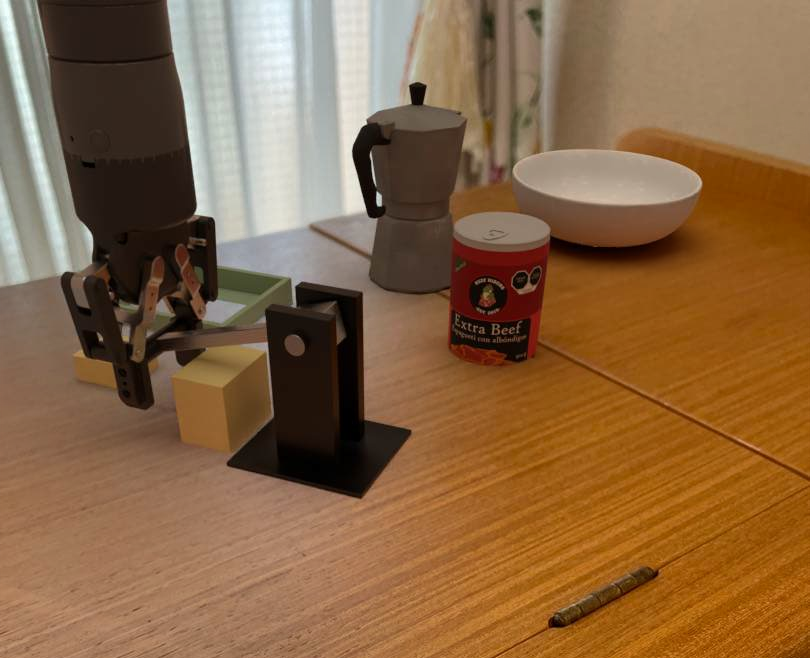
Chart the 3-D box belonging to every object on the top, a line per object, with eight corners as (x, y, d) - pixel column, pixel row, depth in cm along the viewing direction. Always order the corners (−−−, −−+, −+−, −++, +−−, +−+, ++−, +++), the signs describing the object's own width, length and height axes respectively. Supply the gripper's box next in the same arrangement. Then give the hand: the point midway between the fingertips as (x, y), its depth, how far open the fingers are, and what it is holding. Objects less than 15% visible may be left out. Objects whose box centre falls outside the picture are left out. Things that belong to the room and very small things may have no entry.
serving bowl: (472, 239, 99) (476, 175, 95) (562, 197, 112) (569, 139, 108) (641, 283, 89) (654, 214, 85) (717, 231, 102) (732, 170, 98)
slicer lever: (131, 377, 60) (117, 344, 59) (180, 343, 64) (168, 312, 63) (319, 362, 53) (308, 325, 52) (359, 325, 58) (349, 290, 56)
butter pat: (80, 389, 69) (71, 354, 67) (114, 366, 72) (108, 332, 71) (127, 400, 68) (120, 365, 66) (160, 376, 71) (154, 342, 69)
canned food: (436, 367, 73) (442, 236, 66) (460, 330, 79) (467, 206, 73) (526, 381, 71) (541, 248, 65) (543, 342, 78) (558, 216, 71)
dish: (99, 328, 78) (93, 301, 77) (175, 281, 87) (172, 257, 86) (227, 354, 75) (223, 326, 73) (293, 303, 84) (291, 277, 82)
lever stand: (228, 476, 60) (206, 313, 52) (289, 416, 66) (278, 264, 59) (361, 510, 57) (358, 342, 50) (411, 443, 63) (415, 287, 56)
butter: (182, 452, 62) (170, 376, 58) (226, 413, 66) (217, 340, 63) (231, 464, 61) (222, 387, 57) (273, 424, 65) (266, 350, 62)
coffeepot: (416, 250, 96) (420, 66, 85) (487, 270, 91) (501, 79, 80) (321, 290, 86) (312, 89, 75) (395, 316, 82) (397, 105, 71)
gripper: (143, 107, 59) (178, 337, 69) (-10, 158, 48) (58, 420, 59) (239, 119, 57) (261, 354, 67) (102, 174, 46) (152, 444, 57)
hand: (166, 384), depth 63 cm, fingers closed on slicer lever, 6 cm apart
